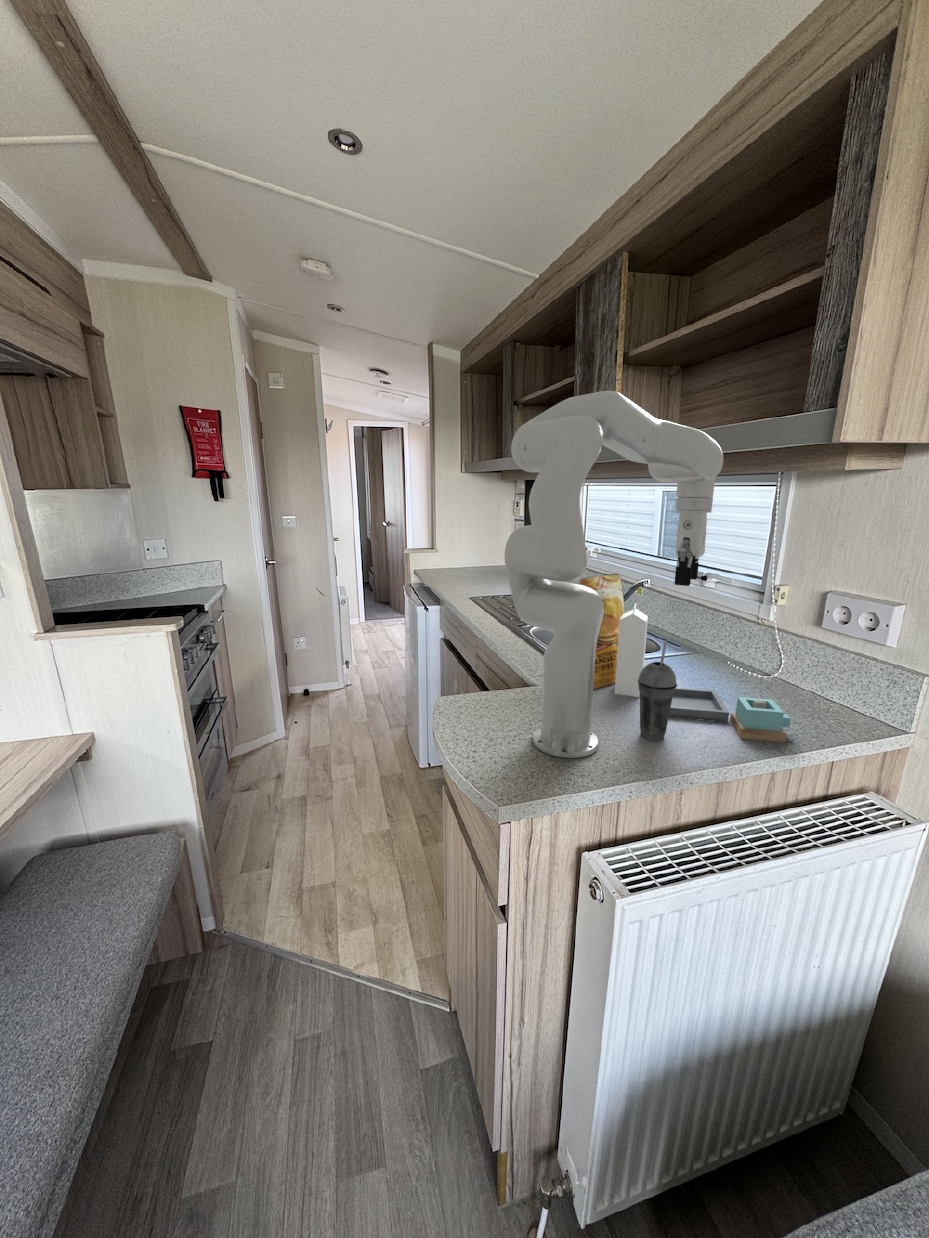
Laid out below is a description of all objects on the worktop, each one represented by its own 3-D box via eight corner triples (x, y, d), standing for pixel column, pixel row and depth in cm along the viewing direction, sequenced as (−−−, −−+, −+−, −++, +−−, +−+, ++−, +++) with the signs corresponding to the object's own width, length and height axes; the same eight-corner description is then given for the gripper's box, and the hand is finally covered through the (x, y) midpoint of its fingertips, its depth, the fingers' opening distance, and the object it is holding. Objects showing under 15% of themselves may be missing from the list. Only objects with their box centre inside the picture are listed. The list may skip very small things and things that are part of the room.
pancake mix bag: (563, 685, 130) (568, 577, 123) (613, 671, 140) (620, 571, 133) (583, 694, 124) (589, 581, 118) (633, 678, 135) (641, 574, 128)
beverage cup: (625, 731, 104) (633, 638, 100) (654, 725, 107) (662, 634, 102) (650, 747, 98) (659, 648, 93) (679, 741, 100) (690, 644, 96)
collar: (793, 732, 99) (796, 713, 98) (744, 728, 101) (746, 709, 100) (781, 718, 106) (784, 700, 105) (735, 714, 108) (737, 696, 107)
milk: (614, 694, 124) (619, 606, 119) (617, 685, 130) (622, 601, 124) (640, 697, 122) (647, 608, 117) (642, 689, 127) (649, 603, 122)
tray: (727, 722, 109) (729, 712, 108) (663, 716, 112) (664, 707, 111) (713, 699, 121) (715, 690, 120) (656, 694, 124) (657, 685, 123)
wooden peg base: (784, 742, 100) (789, 712, 98) (740, 738, 101) (744, 708, 100) (771, 725, 107) (775, 696, 106) (729, 721, 109) (733, 693, 107)
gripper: (706, 507, 103) (697, 589, 107) (717, 505, 118) (709, 577, 122) (667, 506, 107) (660, 586, 111) (682, 504, 121) (675, 575, 126)
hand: (686, 581), depth 117 cm, fingers open, 9 cm apart
